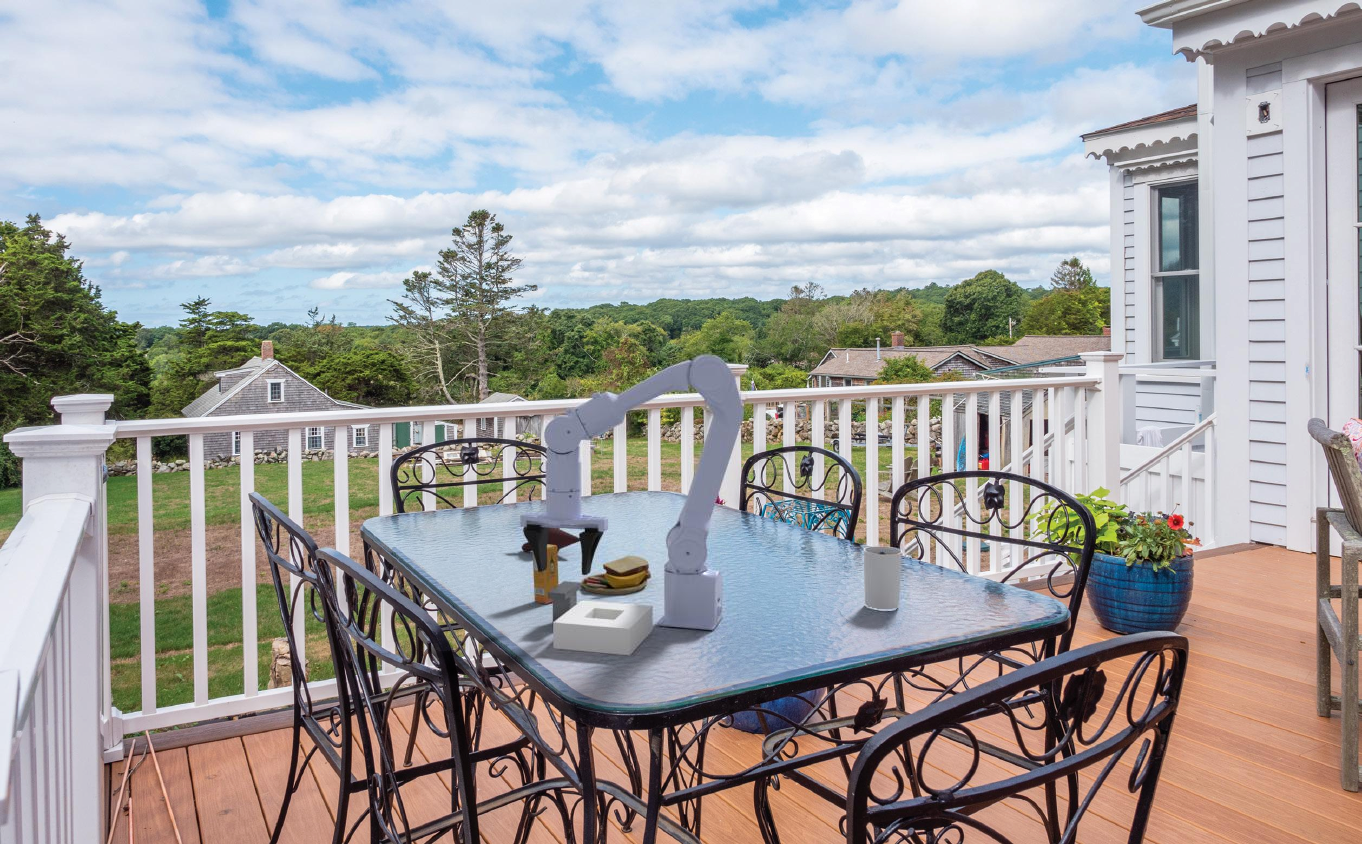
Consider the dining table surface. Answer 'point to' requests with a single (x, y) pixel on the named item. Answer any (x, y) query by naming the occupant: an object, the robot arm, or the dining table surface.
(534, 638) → the dining table surface
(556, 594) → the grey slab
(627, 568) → the toy sandwich meal
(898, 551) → the drinking glass
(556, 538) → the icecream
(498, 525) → the dining table surface
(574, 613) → the well block
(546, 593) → the supplement box
